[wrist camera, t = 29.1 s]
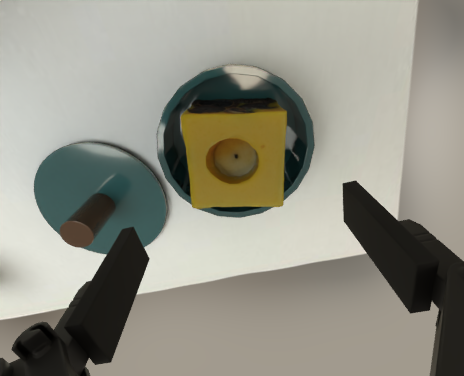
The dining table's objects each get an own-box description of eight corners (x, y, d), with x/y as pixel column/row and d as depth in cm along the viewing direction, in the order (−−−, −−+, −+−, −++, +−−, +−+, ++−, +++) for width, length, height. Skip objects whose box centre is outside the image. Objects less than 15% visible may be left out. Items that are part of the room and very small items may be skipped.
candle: (271, 171, 36) (285, 208, 27) (200, 174, 36) (190, 212, 27) (274, 95, 32) (292, 110, 23) (192, 98, 32) (178, 114, 23)
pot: (190, 205, 39) (184, 228, 34) (148, 84, 31) (131, 89, 26) (306, 181, 37) (319, 201, 32) (292, 47, 30) (306, 45, 24)
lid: (78, 258, 43) (47, 299, 36) (12, 157, 35) (-45, 183, 28) (183, 238, 42) (174, 276, 34) (140, 126, 34) (115, 145, 26)
